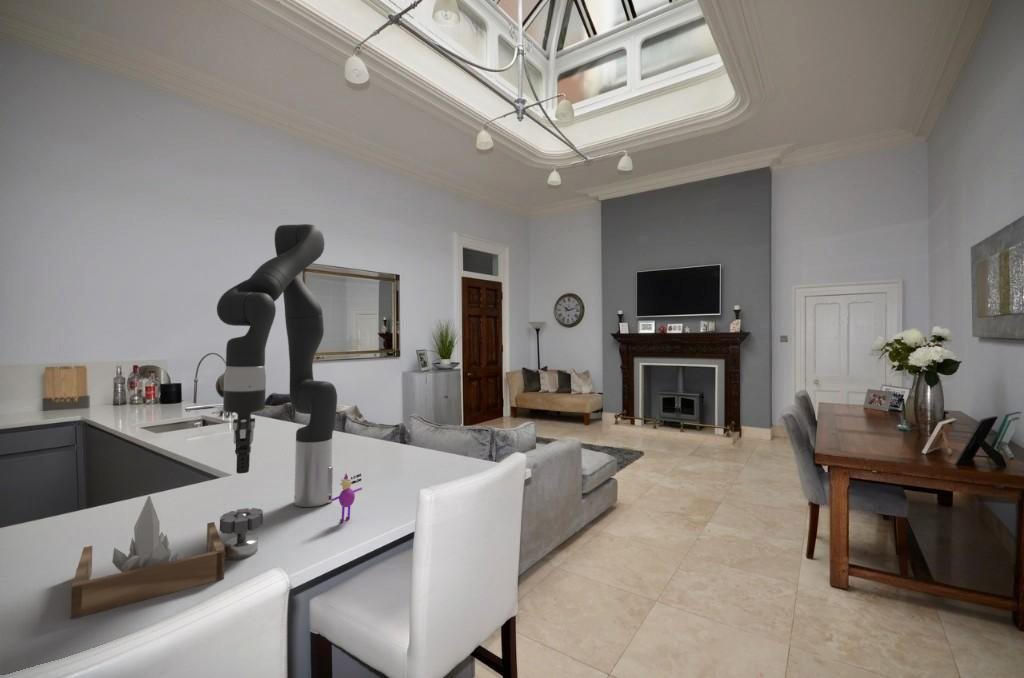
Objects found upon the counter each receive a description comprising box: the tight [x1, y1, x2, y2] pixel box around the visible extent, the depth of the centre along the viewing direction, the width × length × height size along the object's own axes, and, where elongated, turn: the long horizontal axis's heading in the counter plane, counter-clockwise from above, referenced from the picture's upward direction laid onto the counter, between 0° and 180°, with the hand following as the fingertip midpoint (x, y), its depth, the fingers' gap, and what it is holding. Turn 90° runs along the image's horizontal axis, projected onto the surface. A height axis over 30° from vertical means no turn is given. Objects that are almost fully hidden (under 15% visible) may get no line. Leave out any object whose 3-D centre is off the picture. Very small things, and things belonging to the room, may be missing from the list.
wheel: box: [219, 507, 264, 535], centre depth 94 cm, size 8×8×2 cm
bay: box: [70, 521, 225, 620], centre depth 84 cm, size 17×20×5 cm
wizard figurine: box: [327, 472, 364, 523], centre depth 111 cm, size 11×3×12 cm, turn 155°
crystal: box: [112, 495, 180, 573], centre depth 83 cm, size 10×13×15 cm
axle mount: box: [223, 513, 259, 561], centre depth 94 cm, size 6×6×8 cm
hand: (242, 470), depth 94 cm, fingers closed
